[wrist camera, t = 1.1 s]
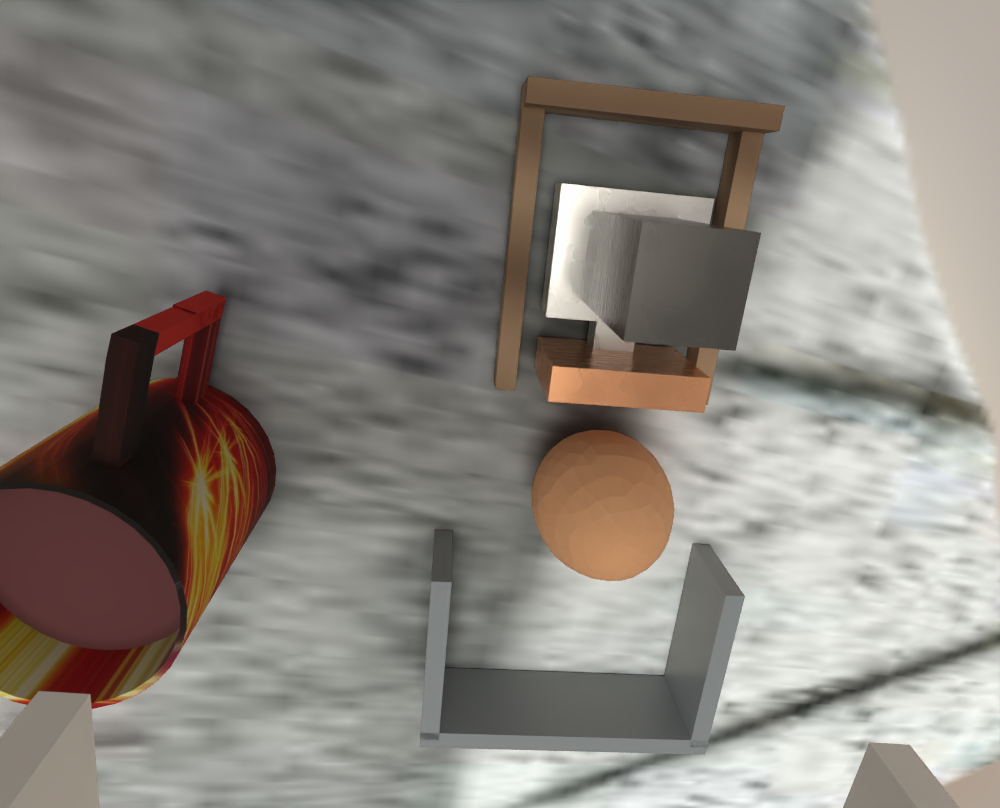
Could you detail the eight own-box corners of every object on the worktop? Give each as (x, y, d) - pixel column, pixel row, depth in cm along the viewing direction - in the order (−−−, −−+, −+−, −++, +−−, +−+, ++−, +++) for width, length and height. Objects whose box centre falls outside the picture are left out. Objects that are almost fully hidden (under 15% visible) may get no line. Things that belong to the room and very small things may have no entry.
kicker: (555, 183, 31) (601, 184, 21) (699, 197, 31) (811, 205, 21) (534, 366, 33) (565, 445, 23) (666, 376, 34) (751, 458, 24)
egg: (656, 414, 35) (719, 488, 27) (633, 524, 37) (684, 625, 29) (533, 402, 34) (557, 474, 26) (516, 514, 37) (533, 615, 28)
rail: (522, 86, 29) (528, 76, 27) (754, 112, 30) (784, 105, 28) (493, 380, 34) (496, 398, 31) (697, 395, 35) (718, 414, 32)
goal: (435, 529, 37) (431, 581, 32) (709, 544, 38) (744, 596, 33) (424, 680, 40) (419, 747, 35) (676, 688, 41) (704, 754, 37)
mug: (232, 284, 32) (105, 342, 20) (294, 531, 36) (218, 692, 25) (33, 308, 31) (-207, 381, 20) (120, 554, 36) (-36, 725, 25)
